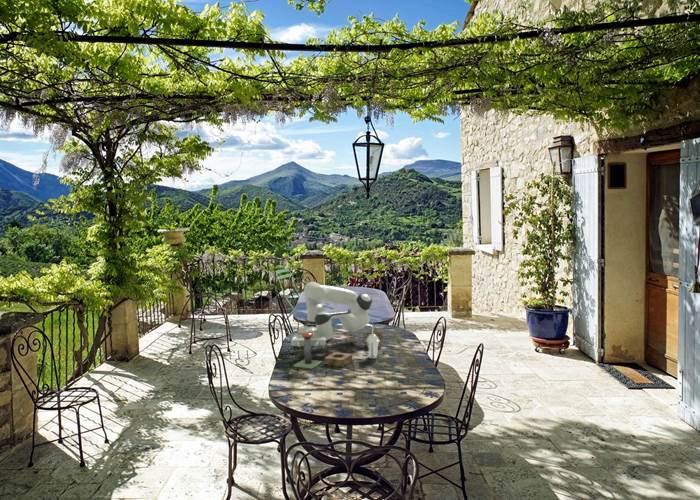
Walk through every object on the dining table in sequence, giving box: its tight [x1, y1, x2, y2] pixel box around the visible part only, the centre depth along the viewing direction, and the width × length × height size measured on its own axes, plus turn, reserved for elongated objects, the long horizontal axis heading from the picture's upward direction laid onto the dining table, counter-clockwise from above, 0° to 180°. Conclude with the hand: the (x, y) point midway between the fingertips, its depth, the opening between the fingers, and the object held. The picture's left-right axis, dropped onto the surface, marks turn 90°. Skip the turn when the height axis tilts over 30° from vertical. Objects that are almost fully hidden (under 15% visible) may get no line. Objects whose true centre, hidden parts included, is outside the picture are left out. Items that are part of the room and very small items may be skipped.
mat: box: [293, 358, 323, 370], centre depth 302 cm, size 12×12×1 cm
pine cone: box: [349, 330, 385, 347], centre depth 336 cm, size 22×10×10 cm, turn 89°
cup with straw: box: [364, 324, 380, 359], centre depth 312 cm, size 8×9×20 cm
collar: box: [323, 351, 353, 367], centre depth 304 cm, size 12×12×4 cm
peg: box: [302, 332, 313, 364], centre depth 301 cm, size 6×6×17 cm
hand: (307, 345), depth 301 cm, fingers open, 8 cm apart
